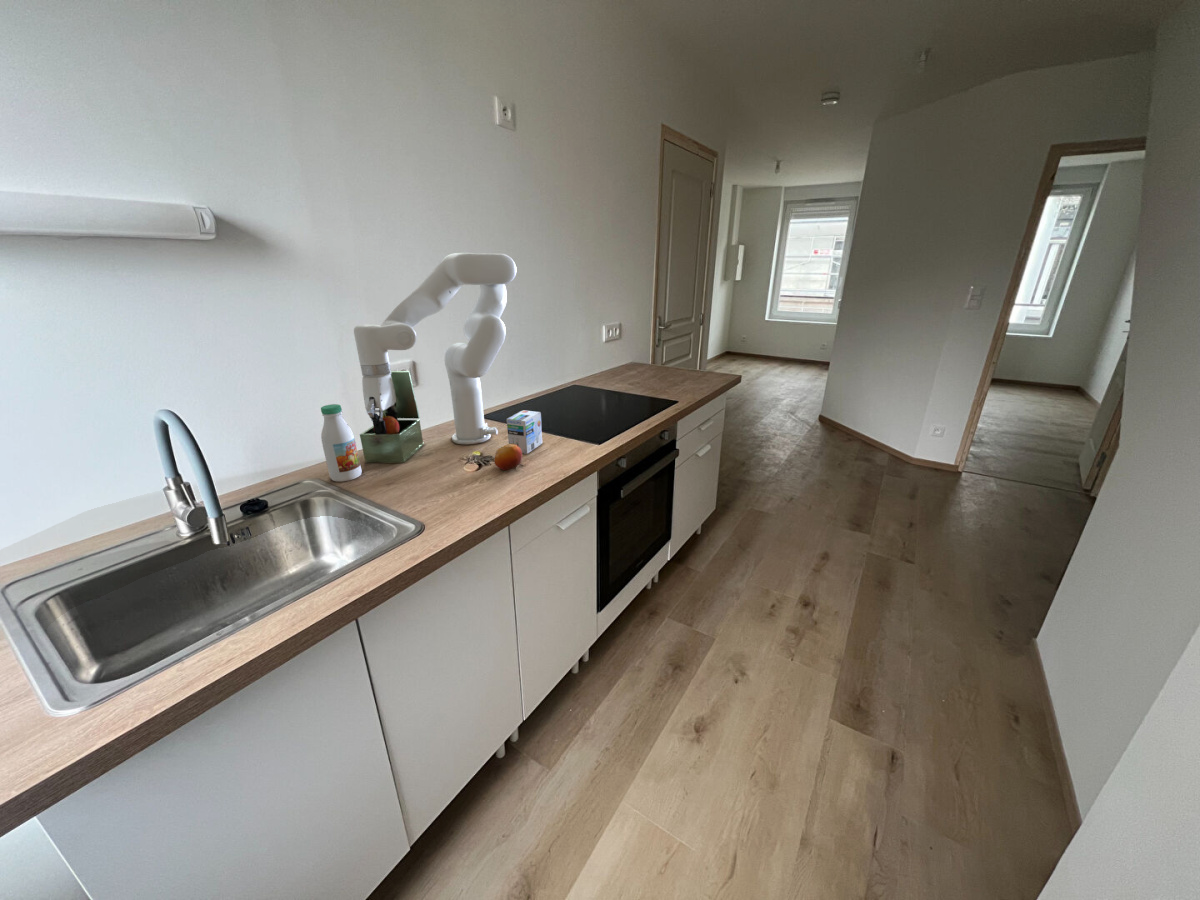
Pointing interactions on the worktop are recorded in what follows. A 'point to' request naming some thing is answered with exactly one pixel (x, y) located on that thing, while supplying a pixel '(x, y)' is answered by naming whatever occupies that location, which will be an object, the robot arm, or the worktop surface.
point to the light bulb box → (525, 430)
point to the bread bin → (392, 443)
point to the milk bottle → (339, 445)
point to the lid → (404, 395)
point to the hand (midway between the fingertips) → (387, 428)
